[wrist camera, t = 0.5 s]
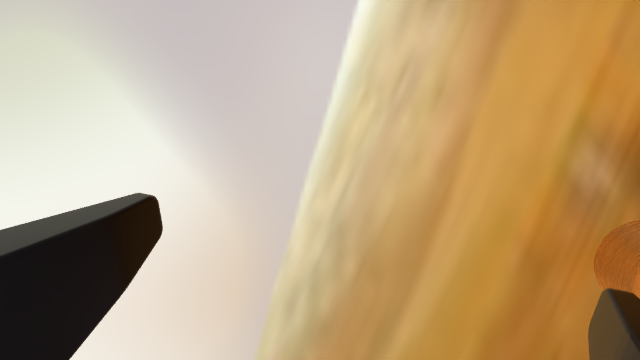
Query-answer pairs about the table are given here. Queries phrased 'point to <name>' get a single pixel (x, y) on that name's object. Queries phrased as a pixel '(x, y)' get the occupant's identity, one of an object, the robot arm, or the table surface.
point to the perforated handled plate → (620, 259)
